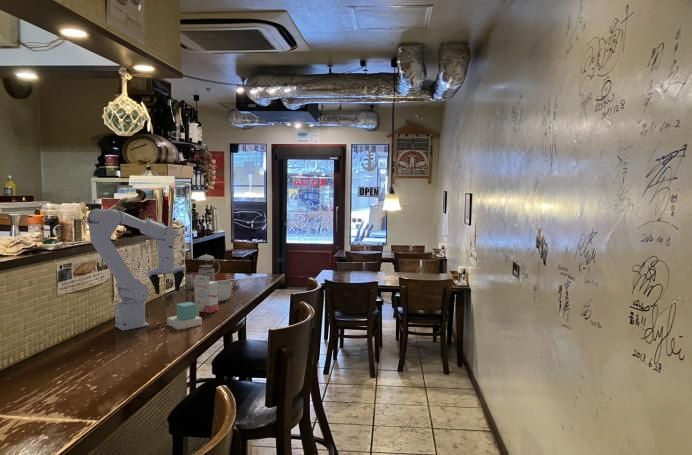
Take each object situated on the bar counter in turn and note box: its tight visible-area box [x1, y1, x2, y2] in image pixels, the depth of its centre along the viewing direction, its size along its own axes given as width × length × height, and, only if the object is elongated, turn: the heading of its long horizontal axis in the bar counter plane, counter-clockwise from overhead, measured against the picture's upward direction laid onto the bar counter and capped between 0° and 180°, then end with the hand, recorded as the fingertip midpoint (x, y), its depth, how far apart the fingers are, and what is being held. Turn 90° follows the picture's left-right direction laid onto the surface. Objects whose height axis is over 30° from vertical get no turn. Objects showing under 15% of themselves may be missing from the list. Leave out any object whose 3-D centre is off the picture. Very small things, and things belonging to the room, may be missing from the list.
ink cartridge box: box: [193, 274, 219, 314], centre depth 192 cm, size 9×5×15 cm, turn 62°
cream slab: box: [167, 315, 203, 331], centre depth 173 cm, size 9×9×3 cm
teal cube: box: [176, 301, 196, 320], centre depth 173 cm, size 5×5×5 cm
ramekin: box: [211, 280, 233, 302], centre depth 213 cm, size 13×13×7 cm
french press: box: [197, 235, 221, 281], centre depth 244 cm, size 10×12×25 cm
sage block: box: [193, 302, 200, 317], centre depth 185 cm, size 4×4×4 cm
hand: (167, 292), depth 184 cm, fingers open, 7 cm apart
